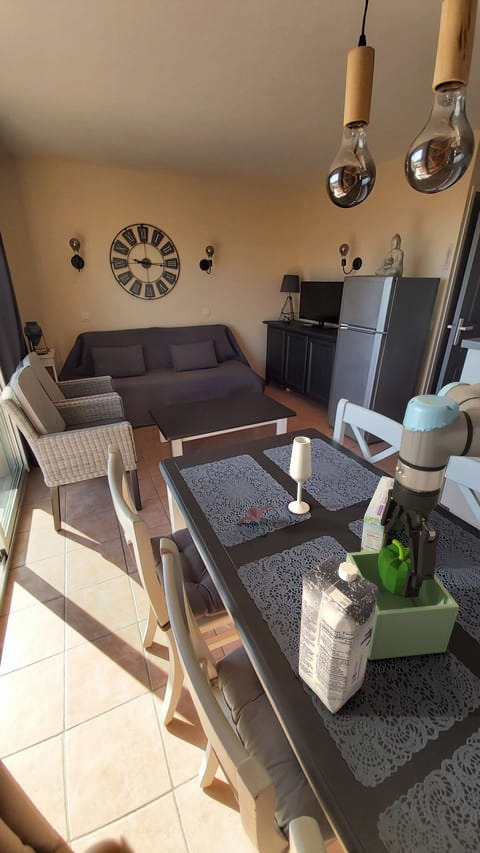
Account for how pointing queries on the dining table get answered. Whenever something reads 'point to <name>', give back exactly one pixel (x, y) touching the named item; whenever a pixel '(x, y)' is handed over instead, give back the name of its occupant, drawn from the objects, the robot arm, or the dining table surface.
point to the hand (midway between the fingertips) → (398, 577)
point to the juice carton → (335, 630)
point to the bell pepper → (394, 567)
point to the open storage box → (407, 615)
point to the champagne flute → (300, 470)
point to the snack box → (376, 517)
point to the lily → (254, 514)
